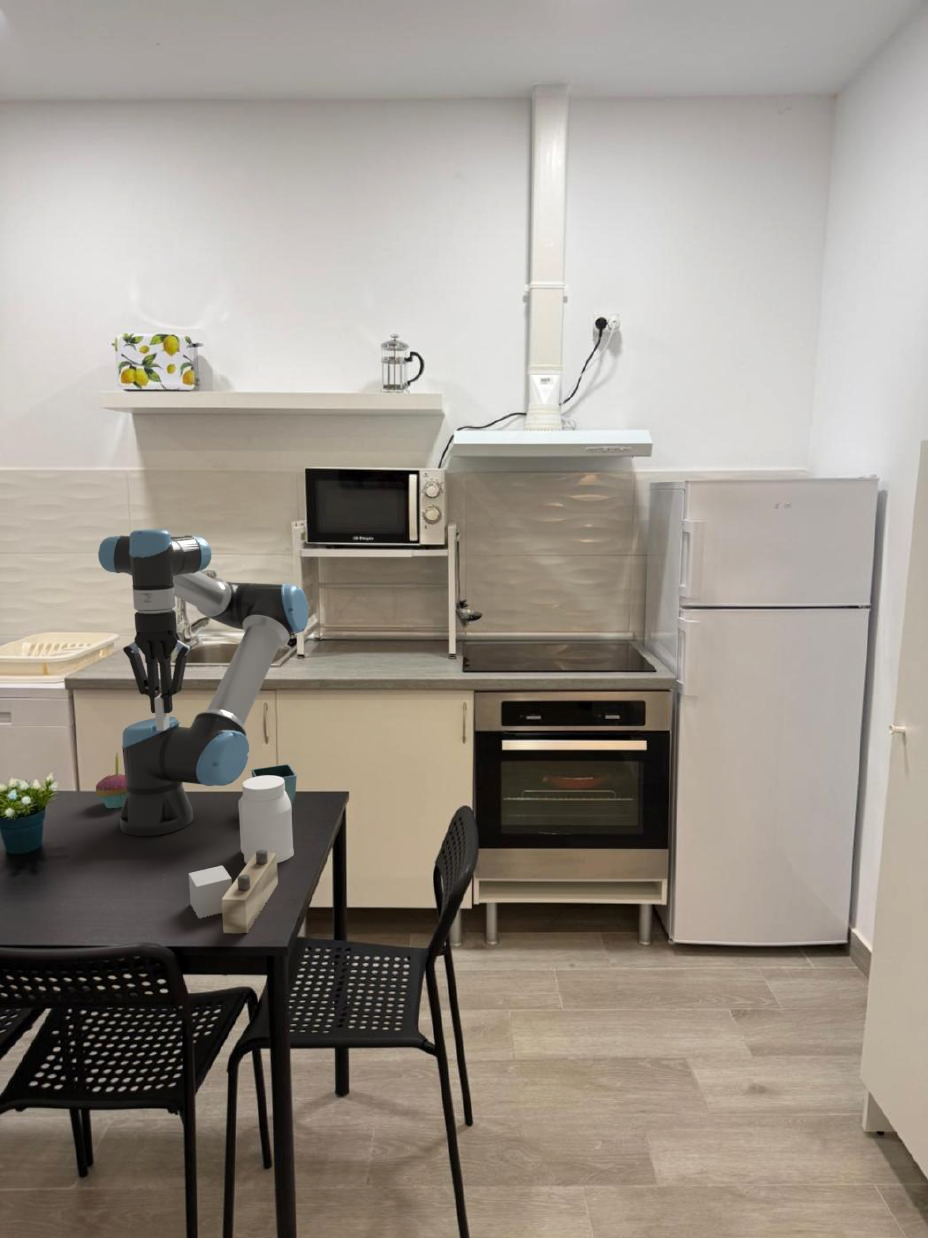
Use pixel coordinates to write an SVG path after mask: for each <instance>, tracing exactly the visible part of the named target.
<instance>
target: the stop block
mask: <svg viewBox="0 0 928 1238" xmlns="http://www.w3.org/2000/svg"><path fill="white" fill-rule="evenodd" d="M278 878H279V877H278V863H277V854H276V853H267V851H266V850H258V851H257V852H256V853H255V854H254V855H253V857H252V858H251V859H250V861H249V862H248V864H246V865H245V866H244V868H243V869H242V870H241V871H240V873H239V874H238V876H237V877H236V879H235V880H234V882H232V886H231V887H230V888H229V890H228V891H227V893H226V894H225V895H224V897H223V898H222V913H221V914H222V929H223V934H241V933H247V934H248V933H249V931H250V930H251V928H252V926H253V925H254V923H255V922H254V921H256V920H257V919H258V917H259V915H260V913H261V912H262V910H263V909H264V907H265V905H266V904H267V902H268V900H269V899H270V897H271V895H272V894H273V892H274V891H275V889H276V887H277V885H279V879H278ZM265 903H266V904H265ZM260 911H261V912H260ZM255 919H256V920H255ZM249 929H250V930H249Z"/></svg>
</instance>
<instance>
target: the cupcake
mask: <svg viewBox="0 0 928 1238" xmlns="http://www.w3.org/2000/svg"><path fill="white" fill-rule="evenodd" d="M118 755H119V754H118V752H116V756H115V774H109V775H107V776H105V777H103V778H102V779H101V780H99V782H98V783H97V784H95V794H96V795H97V796H98V797H99V796H100V798H101V799H102V801H103V804H104V806H105V807H106V808H107V809H111V808H115V809H120V808H119V807H121V808H123V804H124V800H125V797H126V781H125V774H121V773H120V771H119V769H120V768H119V756H118Z"/></svg>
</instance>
